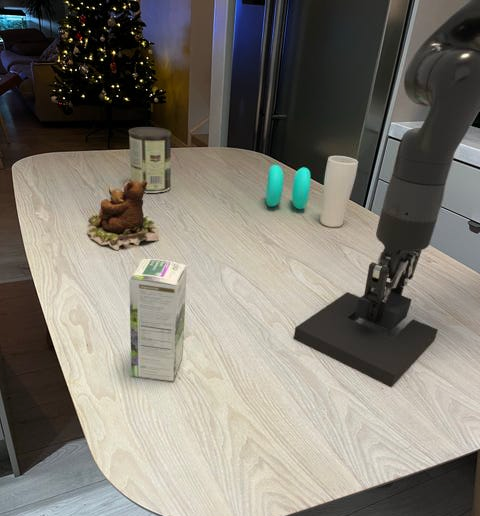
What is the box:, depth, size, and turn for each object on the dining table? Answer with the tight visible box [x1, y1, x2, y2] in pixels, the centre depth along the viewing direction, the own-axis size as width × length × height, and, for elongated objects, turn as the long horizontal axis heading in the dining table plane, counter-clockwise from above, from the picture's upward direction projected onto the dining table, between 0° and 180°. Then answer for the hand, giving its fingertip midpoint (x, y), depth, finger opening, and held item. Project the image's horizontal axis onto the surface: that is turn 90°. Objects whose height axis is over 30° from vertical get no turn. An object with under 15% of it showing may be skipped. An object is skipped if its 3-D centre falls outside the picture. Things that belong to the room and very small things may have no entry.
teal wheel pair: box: [265, 164, 312, 210], centre depth 122 cm, size 10×10×10 cm
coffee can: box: [128, 126, 172, 194], centre depth 125 cm, size 10×10×14 cm
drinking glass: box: [319, 155, 359, 228], centre depth 113 cm, size 7×7×15 cm
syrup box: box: [128, 258, 188, 382], centre depth 62 cm, size 6×6×14 cm
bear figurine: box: [86, 180, 160, 251], centre depth 99 cm, size 14×15×12 cm
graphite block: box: [355, 290, 413, 332], centre depth 77 cm, size 6×6×3 cm
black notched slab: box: [293, 291, 439, 388], centre depth 76 cm, size 16×16×2 cm
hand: (382, 312), depth 77 cm, fingers closed on graphite block, 6 cm apart
